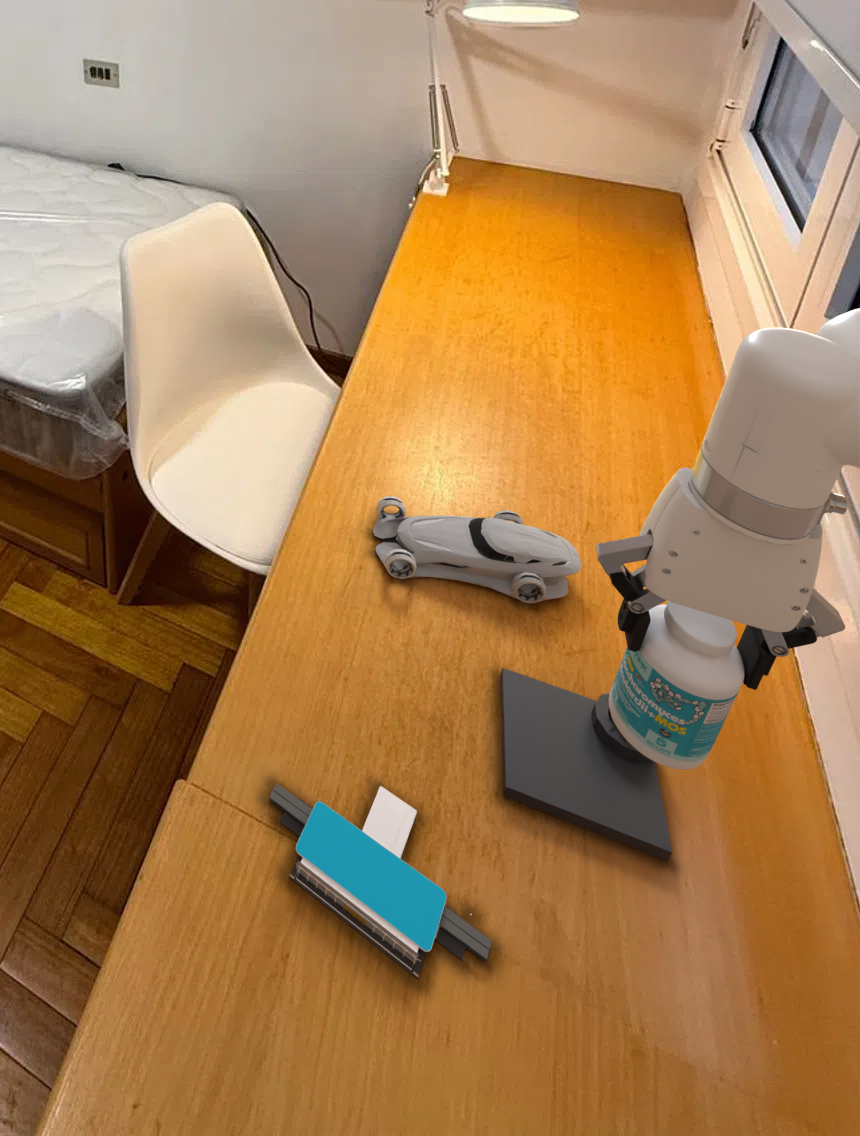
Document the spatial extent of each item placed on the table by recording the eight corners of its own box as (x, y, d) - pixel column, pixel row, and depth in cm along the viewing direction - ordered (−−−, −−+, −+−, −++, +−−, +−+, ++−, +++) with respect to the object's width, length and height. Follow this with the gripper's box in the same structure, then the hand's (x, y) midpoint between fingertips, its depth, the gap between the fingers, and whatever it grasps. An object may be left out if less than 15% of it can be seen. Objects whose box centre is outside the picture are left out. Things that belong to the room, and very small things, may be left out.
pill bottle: (586, 702, 73) (625, 592, 68) (645, 673, 76) (687, 565, 71) (666, 790, 67) (716, 676, 62) (728, 755, 70) (781, 643, 65)
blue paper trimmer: (507, 878, 75) (510, 867, 75) (471, 1021, 66) (475, 1010, 66) (301, 736, 86) (303, 726, 86) (246, 843, 77) (248, 832, 77)
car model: (369, 509, 114) (374, 481, 112) (559, 538, 110) (568, 510, 108) (378, 579, 104) (384, 549, 102) (588, 613, 100) (598, 583, 98)
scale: (648, 724, 88) (655, 706, 87) (673, 864, 77) (683, 844, 75) (499, 672, 93) (505, 653, 92) (503, 795, 82) (509, 776, 80)
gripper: (878, 487, 62) (797, 652, 69) (612, 423, 67) (562, 581, 74) (927, 567, 55) (833, 741, 62) (629, 489, 61) (572, 656, 68)
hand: (686, 653), depth 68 cm, fingers closed on pill bottle, 7 cm apart
